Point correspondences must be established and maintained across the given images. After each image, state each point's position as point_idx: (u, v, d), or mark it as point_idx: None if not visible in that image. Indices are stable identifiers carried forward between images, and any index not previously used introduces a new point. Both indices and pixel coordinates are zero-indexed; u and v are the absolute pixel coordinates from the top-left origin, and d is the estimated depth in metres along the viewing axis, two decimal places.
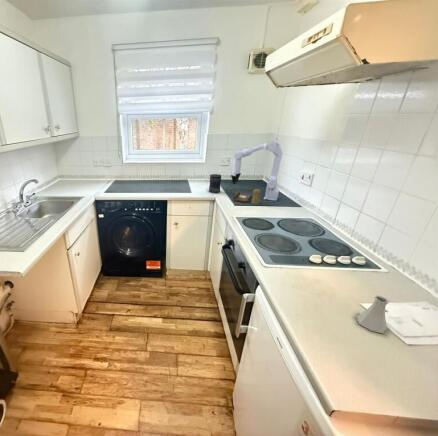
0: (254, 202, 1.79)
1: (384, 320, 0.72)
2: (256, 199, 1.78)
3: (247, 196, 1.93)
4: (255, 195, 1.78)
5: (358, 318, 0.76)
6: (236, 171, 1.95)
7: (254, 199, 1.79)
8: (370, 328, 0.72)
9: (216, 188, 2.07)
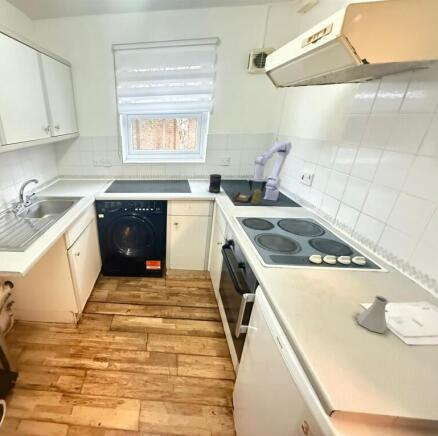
0: (254, 202, 1.79)
1: (384, 320, 0.72)
2: (256, 199, 1.77)
3: (247, 196, 1.93)
4: (255, 196, 1.76)
5: (358, 318, 0.76)
6: (262, 177, 1.74)
7: (254, 199, 1.78)
8: (370, 328, 0.72)
9: (216, 188, 2.07)
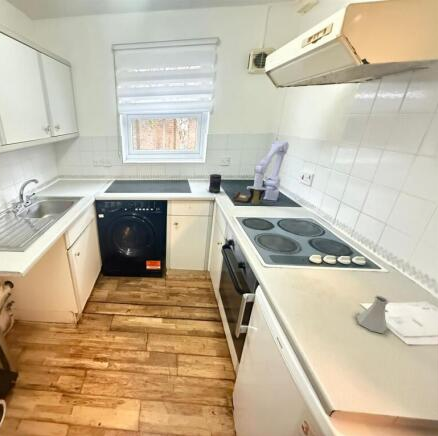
0: (254, 202, 1.79)
1: (384, 320, 0.72)
2: (256, 199, 1.78)
3: (247, 196, 1.93)
4: (255, 195, 1.78)
5: (358, 318, 0.76)
6: (261, 186, 1.76)
7: (254, 199, 1.79)
8: (370, 328, 0.72)
9: (216, 188, 2.07)
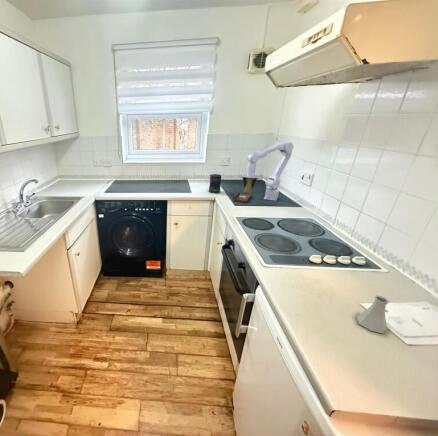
0: (247, 190, 1.84)
1: (384, 320, 0.72)
2: (249, 187, 1.83)
3: (247, 196, 1.93)
4: (248, 184, 1.83)
5: (358, 318, 0.76)
6: (254, 174, 1.80)
7: (247, 187, 1.84)
8: (370, 328, 0.72)
9: (216, 188, 2.07)
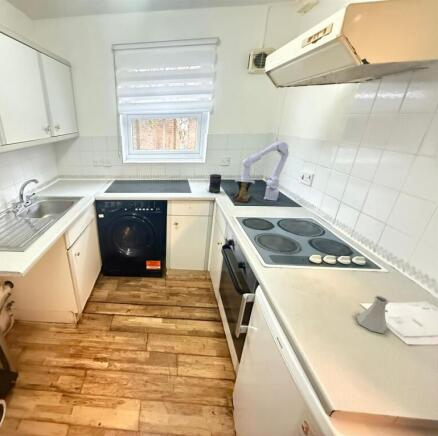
0: (242, 194, 1.90)
1: (384, 320, 0.72)
2: (243, 191, 1.89)
3: (247, 196, 1.93)
4: (242, 188, 1.88)
5: (358, 318, 0.76)
6: (248, 179, 1.86)
7: (242, 191, 1.89)
8: (370, 328, 0.72)
9: (216, 188, 2.07)
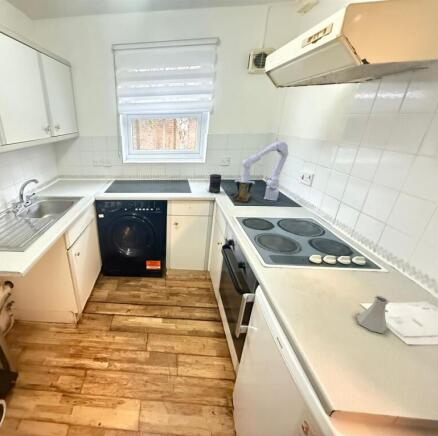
0: (241, 195, 1.90)
1: (384, 320, 0.72)
2: (243, 192, 1.89)
3: (247, 196, 1.93)
4: (242, 189, 1.89)
5: (358, 318, 0.76)
6: (248, 179, 1.87)
7: (241, 192, 1.90)
8: (370, 328, 0.72)
9: (216, 188, 2.07)
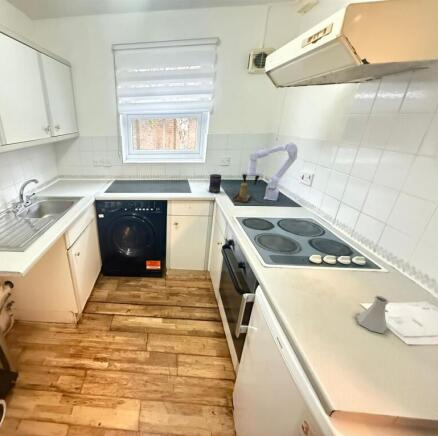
0: (241, 195, 1.90)
1: (384, 320, 0.72)
2: (243, 192, 1.89)
3: (247, 196, 1.93)
4: (242, 189, 1.89)
5: (358, 318, 0.76)
6: None
7: (241, 192, 1.90)
8: (370, 328, 0.72)
9: (216, 188, 2.07)
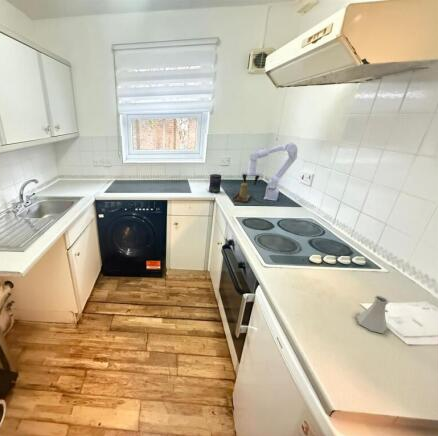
0: (241, 195, 1.90)
1: (384, 320, 0.72)
2: (243, 192, 1.89)
3: (247, 196, 1.93)
4: (242, 189, 1.89)
5: (358, 318, 0.76)
6: None
7: (241, 192, 1.90)
8: (370, 328, 0.72)
9: (216, 188, 2.07)
